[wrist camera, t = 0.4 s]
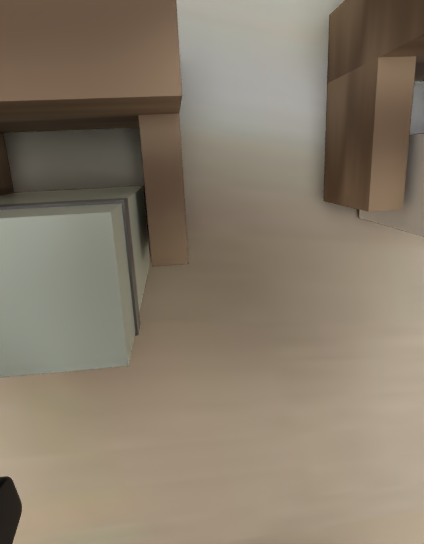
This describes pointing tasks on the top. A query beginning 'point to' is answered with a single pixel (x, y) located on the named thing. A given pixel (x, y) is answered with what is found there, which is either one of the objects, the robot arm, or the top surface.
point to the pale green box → (71, 278)
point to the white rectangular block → (407, 194)
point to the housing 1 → (101, 90)
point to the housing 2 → (371, 100)
